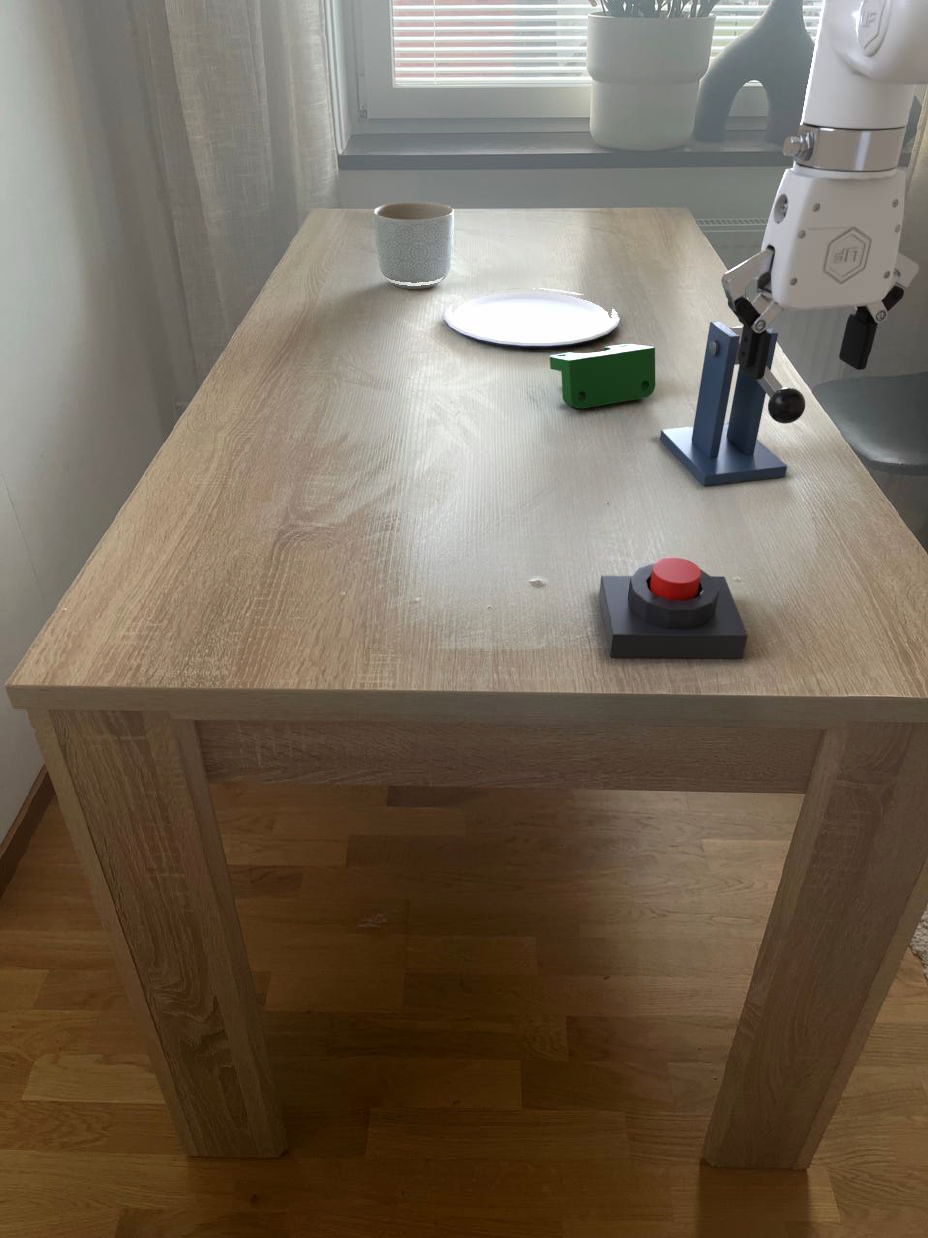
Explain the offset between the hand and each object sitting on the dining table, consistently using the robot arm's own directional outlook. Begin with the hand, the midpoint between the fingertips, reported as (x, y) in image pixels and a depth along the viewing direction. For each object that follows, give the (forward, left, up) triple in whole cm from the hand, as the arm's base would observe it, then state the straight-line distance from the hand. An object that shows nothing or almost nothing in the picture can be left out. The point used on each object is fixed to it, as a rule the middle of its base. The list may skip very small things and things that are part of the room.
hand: (801, 369), depth 80 cm
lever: (+5, -4, -4) cm, 8 cm away
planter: (+71, -41, -14) cm, 83 cm away
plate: (+46, -35, -14) cm, 59 cm away
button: (+1, +23, -10) cm, 25 cm away
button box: (+1, +23, -14) cm, 27 cm away
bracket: (+8, -8, -14) cm, 17 cm away
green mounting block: (+26, -16, -14) cm, 33 cm away
